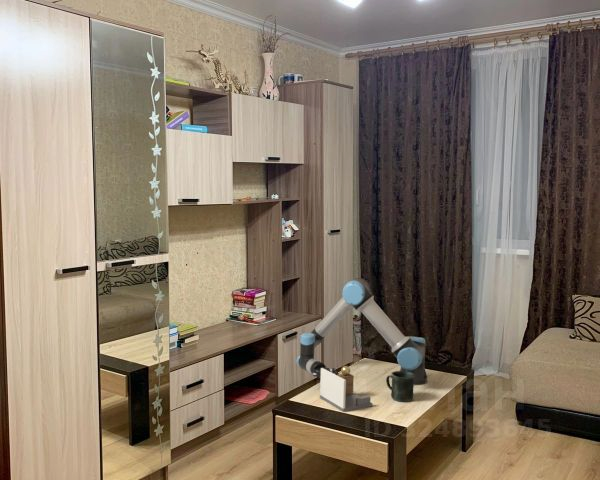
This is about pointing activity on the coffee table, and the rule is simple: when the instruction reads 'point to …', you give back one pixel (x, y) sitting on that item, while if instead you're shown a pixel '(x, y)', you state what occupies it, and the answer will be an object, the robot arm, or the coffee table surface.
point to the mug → (401, 385)
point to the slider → (347, 379)
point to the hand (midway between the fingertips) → (341, 381)
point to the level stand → (340, 393)
